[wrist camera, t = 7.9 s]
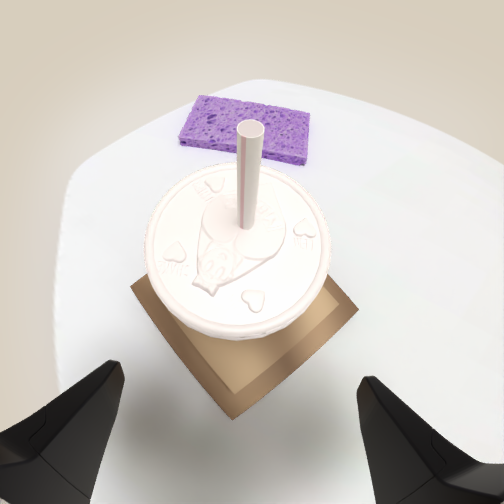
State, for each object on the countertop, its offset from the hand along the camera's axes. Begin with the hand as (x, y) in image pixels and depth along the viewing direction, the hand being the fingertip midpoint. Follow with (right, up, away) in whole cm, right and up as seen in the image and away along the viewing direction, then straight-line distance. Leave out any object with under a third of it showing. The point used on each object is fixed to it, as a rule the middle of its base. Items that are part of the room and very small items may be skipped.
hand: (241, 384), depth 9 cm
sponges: (0, +17, +19) cm, 25 cm away
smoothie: (-1, +2, +9) cm, 9 cm away
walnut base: (0, +1, +12) cm, 12 cm away
